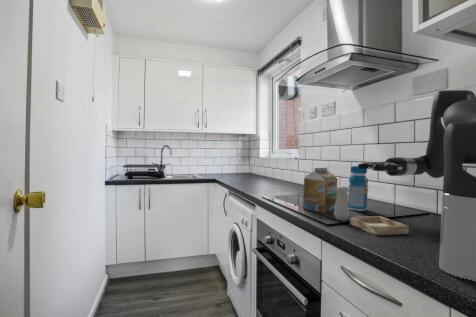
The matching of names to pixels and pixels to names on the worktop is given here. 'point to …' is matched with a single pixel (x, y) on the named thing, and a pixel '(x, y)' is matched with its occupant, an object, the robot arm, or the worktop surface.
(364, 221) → the tray
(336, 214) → the salt shaker
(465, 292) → the worktop surface
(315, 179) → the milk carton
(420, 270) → the worktop surface
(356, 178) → the beverage bottle
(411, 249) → the worktop surface
